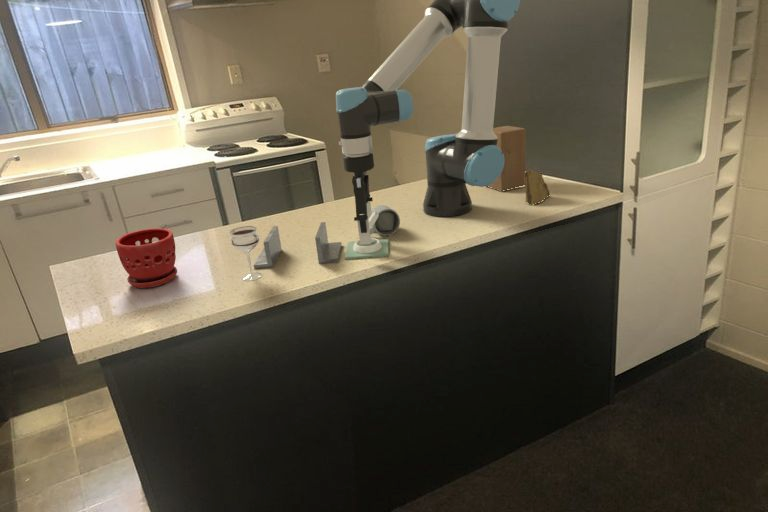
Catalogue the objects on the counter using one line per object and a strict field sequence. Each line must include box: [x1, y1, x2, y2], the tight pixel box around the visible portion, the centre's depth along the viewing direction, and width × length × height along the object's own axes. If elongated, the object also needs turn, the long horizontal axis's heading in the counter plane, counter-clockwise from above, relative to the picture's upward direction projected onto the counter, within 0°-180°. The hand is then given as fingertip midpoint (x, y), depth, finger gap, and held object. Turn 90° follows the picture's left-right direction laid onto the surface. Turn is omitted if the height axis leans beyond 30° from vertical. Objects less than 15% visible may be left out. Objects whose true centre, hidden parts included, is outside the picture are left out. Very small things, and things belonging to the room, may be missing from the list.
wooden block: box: [488, 125, 527, 191], centre depth 183 cm, size 10×10×20 cm
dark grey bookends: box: [253, 221, 343, 270], centre depth 140 cm, size 21×12×7 cm, turn 89°
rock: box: [524, 170, 551, 206], centre depth 167 cm, size 11×9×10 cm
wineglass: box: [228, 225, 263, 282], centre depth 129 cm, size 7×7×12 cm
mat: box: [344, 238, 389, 260], centre depth 141 cm, size 11×11×1 cm
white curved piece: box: [353, 211, 382, 253], centre depth 139 cm, size 8×12×7 cm
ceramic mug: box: [370, 204, 401, 237], centre depth 152 cm, size 11×8×8 cm
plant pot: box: [114, 228, 178, 289], centre depth 132 cm, size 13×13×12 cm
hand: (366, 234), depth 140 cm, fingers open, 13 cm apart
